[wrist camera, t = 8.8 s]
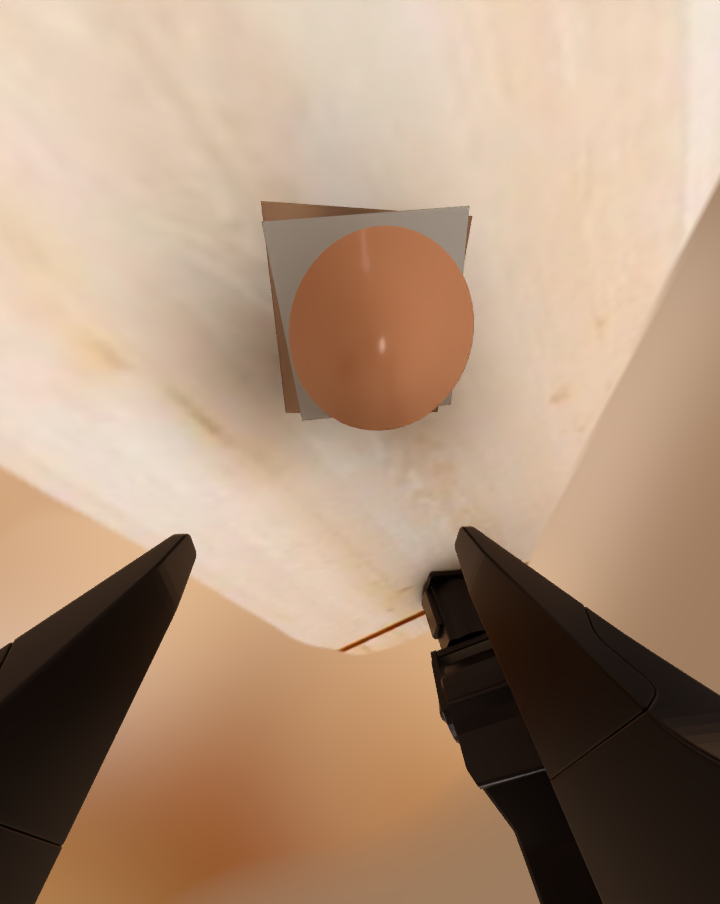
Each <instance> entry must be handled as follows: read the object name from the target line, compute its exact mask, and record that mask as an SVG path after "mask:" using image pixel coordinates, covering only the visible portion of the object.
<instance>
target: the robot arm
mask: <svg viewBox="0 0 720 904" xmlns="http://www.w3.org/2000/svg"><path fill="white" fill-rule="evenodd" d="M455 550H456V553H457V556H458V559H459V563H460V566H461V569H462V571H453V572H438V573H432V574H430V575H429V579H428V583H427V587H426V589H425V591H424V595H423V599H422V606H423V609H424V611H425V614H426V617H427V620H428V624H429V627H430V630H431V633H432V636H433V638H434V639H438V640H439V643H440V646H441V650H439V651H436V650H435V651H433V652H431V657H432V667H433V673H434V678H435V683H436V688H437V693H438V699H439V710H440V715H441V718H442V720H444V721H445V722H446V723H447V724H448V727H449V729H450V731H451V733H452V735H453V737H454V739H455V740H456V742H457V743H460V746H461V750H462V754H463V758H464V761H465V765H466V768H467V770H468V772H469V773H470V775H471V776H472V778H473V779H474V781H475V783H476V784H477V785H478V787H479V788H480V789H483V790H484V791H485V793H486V794H487V795H488V797H489V798H490V799H491V801H492V802H493V803H494V805H495V806H496V807H497V809H498V810H499V812H500V813H501V814H502V816H503V817H504V818H505V820H506V821H507V822H508V824H509V825H510V826H511V828H512V829H513V831H514V832H515V835H516V837H517V840H518V843H519V845H520V848H521V851H522V853H523V856H524V859H525V862H526V865H527V868H528V870H529V873H530V876H531V879H532V881H533V884H534V887H535V890H536V893H537V896H538V898H539V901H540V904H720V695H718V694H717V693H715V692H714V691H712V690H711V689H709V688H708V687H706V686H704V685H703V684H701V683H700V682H698V681H697V680H695V679H693V678H692V677H690V676H689V675H687V674H686V673H684V672H683V671H681V670H679V669H678V668H676V667H674V666H673V665H672V664H670V663H669V662H667V661H665V660H664V659H662V658H661V657H659V656H658V655H656V654H655V653H653V652H651V651H650V650H648V649H647V648H645V647H644V646H642V645H641V644H639V643H638V642H636V641H635V640H633V639H632V638H630V637H629V636H627V635H626V634H624V633H623V632H621V631H620V630H618V629H617V628H615V627H614V626H613V625H611V624H610V623H608V622H607V621H605V620H604V619H602V618H601V617H599V616H598V615H597V614H595V613H594V612H592V611H591V610H590V609H588V608H587V607H584V606H583V604H581V603H580V602H578V601H577V600H575V599H574V598H573V597H571V596H570V595H569V594H567V593H566V592H564V591H563V590H561V589H560V588H559V587H557V586H556V585H554V584H553V583H552V582H550V581H549V580H547V579H546V578H545V577H543V576H542V575H540V574H539V573H538V572H536V571H535V570H533V569H532V568H531V567H529V566H528V565H526V564H525V563H524V562H522V561H521V560H519V559H518V558H516V557H515V556H514V555H512V554H511V553H509V552H508V551H507V550H505V549H504V548H502V547H501V546H500V545H498V544H497V543H495V542H494V541H493V540H491V539H490V538H488V537H487V536H485V535H484V534H483V533H481V532H480V531H478V530H477V529H476V528H474V527H471V526H466V527H461V528H460V529H459V532H458V535H457V539H456V542H455ZM195 559H196V550H195V547H194V544H193V541H192V539H191V536H190V535H189V534H174V535H172V536H170V537H169V538H167V539H166V540H164V541H163V542H161V543H160V544H158V545H157V546H155V547H154V548H152V549H151V550H149V551H148V552H146V553H145V554H143V555H142V556H140V557H139V558H137V559H136V560H134V561H133V562H131V563H130V564H128V565H127V566H125V567H124V568H122V569H121V570H119V571H118V572H116V573H115V574H113V575H112V576H110V577H109V578H107V579H106V580H104V581H103V582H101V583H100V584H98V585H97V586H95V587H94V588H92V589H91V590H89V591H88V592H86V593H85V594H83V595H82V596H80V597H79V598H77V599H76V600H74V601H72V602H71V603H70V604H68V605H66V606H65V607H63V608H62V609H60V610H59V611H57V612H56V613H54V614H53V615H51V616H50V617H48V618H47V619H45V620H44V621H42V622H41V623H40V624H38V625H36V626H35V627H33V628H32V629H30V630H29V631H27V632H26V633H24V634H23V635H21V636H20V637H18V638H17V639H15V641H14V642H13V643H9V644H7V645H6V646H4V647H3V648H1V649H0V904H35V902H36V900H37V898H38V896H39V894H40V892H41V890H42V888H43V886H44V884H45V882H46V879H47V878H48V876H49V874H50V871H51V869H52V867H53V865H54V863H55V861H56V859H57V857H58V855H59V853H60V850H61V849H62V846H61V845H63V843H64V842H65V840H66V838H67V836H68V833H69V832H70V829H71V827H72V825H73V823H74V821H75V819H76V817H77V815H78V813H79V811H80V809H81V807H82V804H83V803H84V800H85V798H86V796H87V794H88V792H89V790H90V788H91V786H92V784H93V782H94V780H95V778H96V776H97V773H98V771H99V769H100V767H101V765H102V763H103V761H104V759H105V757H106V755H107V753H108V751H109V748H110V747H111V745H112V743H113V741H114V738H115V736H116V734H117V732H118V730H119V728H120V726H121V724H122V722H123V720H124V718H125V716H126V714H127V711H128V709H129V707H130V705H131V703H132V701H133V699H134V697H135V695H136V693H137V691H138V689H139V687H140V685H141V682H142V681H143V678H144V676H145V674H146V672H147V670H148V668H149V666H150V664H151V662H152V660H153V658H154V656H155V654H156V651H157V650H158V647H159V645H160V643H161V641H162V639H163V637H164V635H165V633H166V631H167V629H168V627H169V625H170V623H171V621H172V619H173V616H174V614H175V612H176V610H177V607H178V605H179V602H180V600H181V597H182V595H183V592H184V589H185V586H186V584H187V581H188V578H189V575H190V573H191V570H192V567H193V565H194V562H195Z"/></svg>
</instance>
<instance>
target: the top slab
mask: <svg viewBox="0 0 720 904" xmlns="http://www.w3.org/2000/svg"><path fill="white" fill-rule="evenodd" d="M468 215H469V206H460V207H447V208H434V209H421V210H408V211H395V212H382V213H369V214H356V215H343V216H329V217H316V218H303V219H290V220H277V221H264V222H262V226H263V231H264V236H265V240H266V245H267V250H268V255H269V260H270V265H271V270H272V275H273V279H274V284H275V289H276V294H277V299H278V304H279V309H280V314H281V319H282V323H283V328H284V333H285V338H286V343H287V348H288V353H289V358H290V363H291V367H292V372H293V377H294V382H295V387H296V392H297V397H298V402H299V406H300V411H301V416H302V421H303V420H312V419H321V418H331V416H330V415H328V414H327V413H326V412H324V411H323V410H322V409H321V408H320V407H319V406H318V405H317V404H316V403H315V402H314V401H313V400H312V399H311V397H310V396H309V395H308V394H307V392H306V390H305V389H304V387H303V386H302V384H301V382H300V380H299V378H298V376H297V373H296V371H295V368H294V364H293V361H292V357H291V352H290V345H289V321H290V314H291V309H292V304H293V301H294V298H295V295H296V292H297V289H298V287H299V285H300V283H301V281H302V279H303V277H304V275H305V274H306V272H307V271H308V269H309V268H310V266H311V265H312V263H313V262H314V261H315V260H316V259H317V258H318V257H319V255H320V254H321V253H322V252H323V251H325V250H326V249H327V248H328V247H329V246H330V245H332V244H333V243H334V242H336V241H338V240H339V239H341V238H342V237H344V236H346V235H348V234H350V233H353V232H355V231H357V230H360V229H365V228H369V227H373V226H397V227H403V228H407V229H410V230H414V231H417V232H419V233H421V234H423V235H425V236H427V237H429V238H430V239H431V240H433V241H434V242H436V243H437V244H438V245H440V246H441V247H442V248H443V249H444V250H445V251H446V252H447V253H448V254H449V255H450V256H451V258H452V259H453V260H454V262H455V263H456V264H457V266H458V267H459V269H460V271H461V273H462V275H463V268H464V257H465V247H466V236H467V226H468ZM451 394H452V391H451V392H450V393H449V395H448V396H447V397H446V398H445V399H444V400H443V401H442V402H441V403H440V404H439V405H438V406H440V405H449V404H451Z"/></svg>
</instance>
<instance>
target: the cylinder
mask: <svg viewBox="0 0 720 904" xmlns="http://www.w3.org/2000/svg"><path fill="white" fill-rule="evenodd" d="M473 332H474V315H473V305H472V301H471V296H470V292H469V289H468V287H467V284H466V281H465V279H464V277H463V275H462V273H461V271H460V269H459V267H458V266H457V264H456V263H455V262H454V260H453V259H452V258H451V256H450V255H449V254H448V253H447V252H446V251H445V250H444V249H443V248H442V247H441V246H440V245H438V244H437V243H436V242H434V241H433V240H431V239H430V238H429V237H427V236H425V235H423V234H421V233H419V232H417V231H414V230H410V229H407V228H403V227H397V226H373V227H369V228H365V229H360V230H357V231H355V232H353V233H350V234H348V235H346V236H344V237H342V238H341V239H339V240H338V241H336V242H334V243H333V244H332V245H330V246H329V247H328V248H327V249H326V250H325V251H323V252H322V253H321V254H320V255H319V257H318V258H317V259H316V260H315V261H314V262H313V263H312V265H311V266H310V268H309V269H308V271H307V272H306V274H305V275H304V277H303V279H302V281H301V283H300V285H299V287H298V289H297V292H296V295H295V298H294V301H293V304H292V309H291V314H290V321H289V345H290V352H291V357H292V361H293V364H294V368H295V371H296V373H297V376H298V378H299V380H300V382H301V384H302V386H303V387H304V389H305V390H306V392H307V394H308V395H309V396H310V397H311V399H312V400H313V401H314V402H315V403H316V404H317V405H318V406H319V407H320V408H321V409H322V410H323V411H324V412H326V413H327V414H328V415H330V416H331V417H332V418H334V419H336V420H338V421H339V422H342V423H344V424H346V425H349V426H352V427H355V428H359V429H365V430H389V429H394V428H399V427H402V426H405V425H408V424H411V423H413V422H415V421H417V420H419V419H421V418H422V417H424V416H425V415H427V414H429V413H430V412H431V411H432V410H434V409H435V408H436V407H437V406H438V405H439V404H440V403H441V402H442V401H443V400H444V399H445V398H446V397H447V396H448V395H449V393H450V392H451V391H452V390H453V388H454V387H455V385H456V383H457V382H458V380H459V379H460V377H461V375H462V373H463V371H464V368H465V366H466V363H467V360H468V358H469V354H470V350H471V346H472V340H473Z"/></svg>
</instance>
